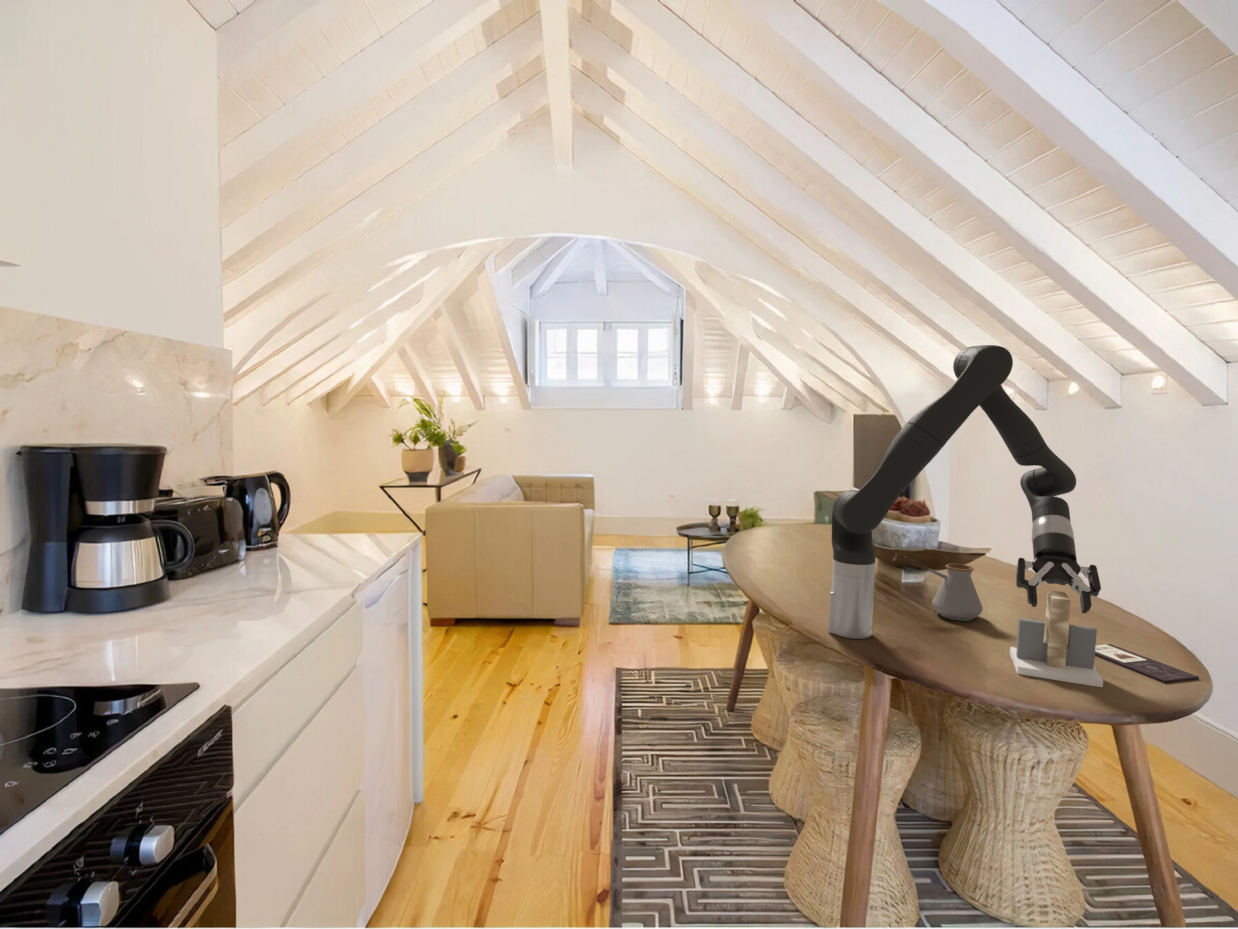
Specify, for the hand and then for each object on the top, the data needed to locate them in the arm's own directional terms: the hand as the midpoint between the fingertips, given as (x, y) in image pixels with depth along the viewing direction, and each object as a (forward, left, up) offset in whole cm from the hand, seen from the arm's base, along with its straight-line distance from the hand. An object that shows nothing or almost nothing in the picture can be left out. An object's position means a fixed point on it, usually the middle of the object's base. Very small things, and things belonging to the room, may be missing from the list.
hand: (1059, 608), depth 130 cm
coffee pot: (-21, +30, -13) cm, 39 cm away
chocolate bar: (+16, +13, -14) cm, 25 cm away
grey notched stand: (0, +1, -13) cm, 13 cm away
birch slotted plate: (0, +1, -12) cm, 12 cm away
